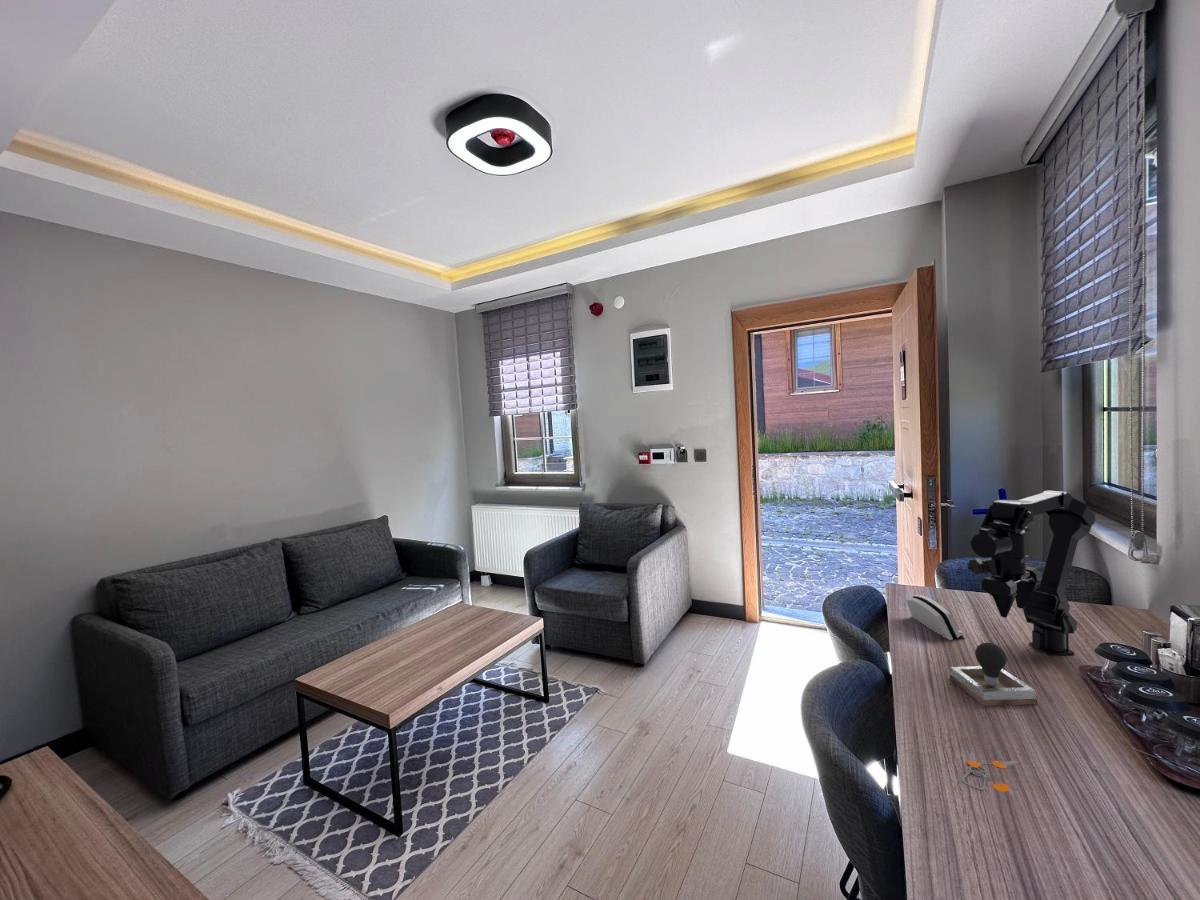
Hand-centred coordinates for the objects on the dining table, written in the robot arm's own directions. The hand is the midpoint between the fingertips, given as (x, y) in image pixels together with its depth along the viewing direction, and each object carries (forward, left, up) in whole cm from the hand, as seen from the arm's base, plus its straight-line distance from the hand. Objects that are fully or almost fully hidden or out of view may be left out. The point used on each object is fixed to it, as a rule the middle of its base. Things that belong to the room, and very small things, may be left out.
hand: (1012, 612), depth 121 cm
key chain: (+32, +37, -14) cm, 51 cm away
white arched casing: (+6, -22, -13) cm, 26 cm away
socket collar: (+14, +12, -13) cm, 23 cm away
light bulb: (+14, +12, -12) cm, 22 cm away
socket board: (+14, +12, -13) cm, 23 cm away
